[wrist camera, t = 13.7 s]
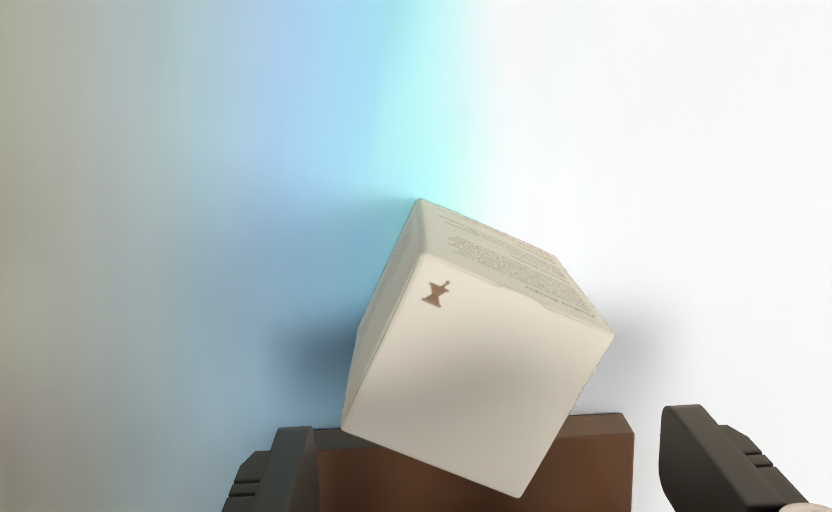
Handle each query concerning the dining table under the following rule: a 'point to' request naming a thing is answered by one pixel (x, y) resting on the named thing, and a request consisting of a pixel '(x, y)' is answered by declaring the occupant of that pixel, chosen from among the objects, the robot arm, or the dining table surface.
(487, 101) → the dining table surface
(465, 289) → the product box
